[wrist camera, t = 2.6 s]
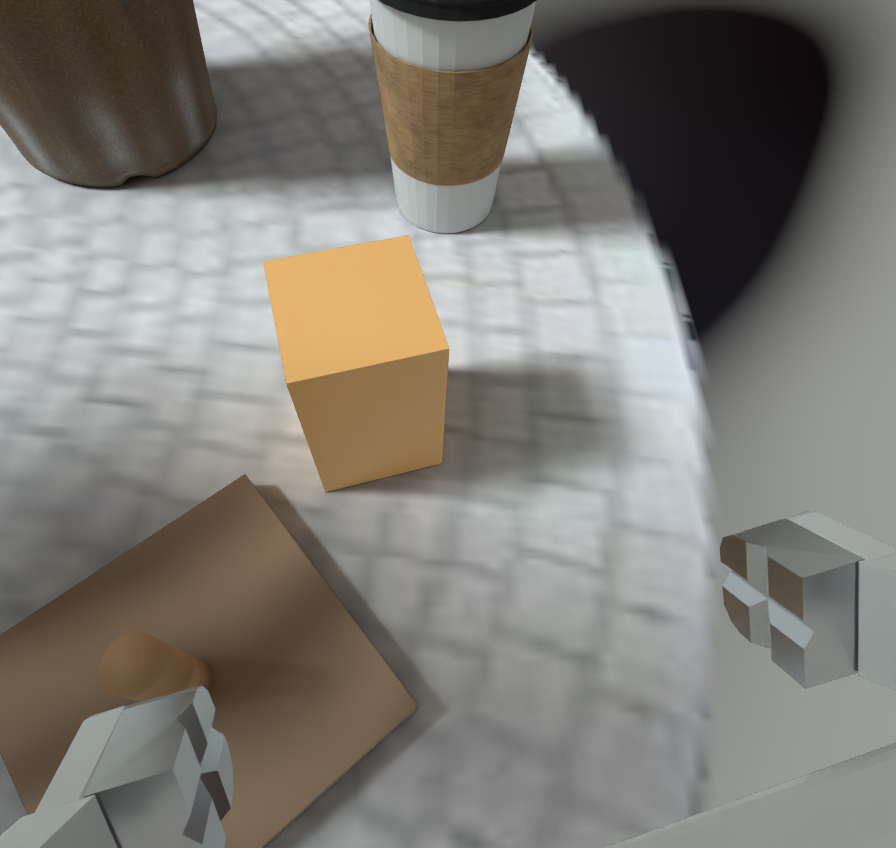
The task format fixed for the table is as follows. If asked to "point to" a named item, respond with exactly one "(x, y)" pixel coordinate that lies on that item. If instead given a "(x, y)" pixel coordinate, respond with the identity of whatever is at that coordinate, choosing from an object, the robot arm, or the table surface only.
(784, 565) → the robot arm
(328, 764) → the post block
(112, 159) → the plant pot
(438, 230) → the coffee cup
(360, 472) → the tall orange pillar
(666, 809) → the table surface
